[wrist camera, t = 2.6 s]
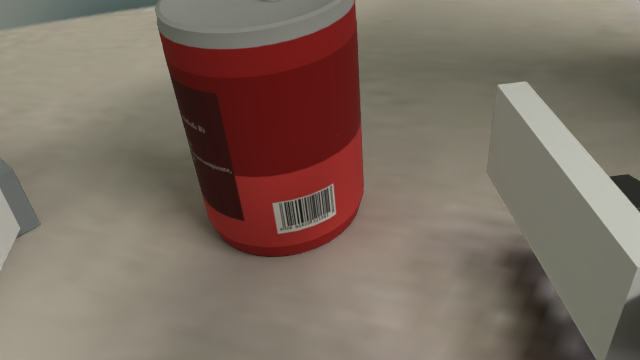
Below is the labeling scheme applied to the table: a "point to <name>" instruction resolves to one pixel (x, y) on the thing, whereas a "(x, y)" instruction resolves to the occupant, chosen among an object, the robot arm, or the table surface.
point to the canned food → (269, 116)
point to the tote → (17, 199)
